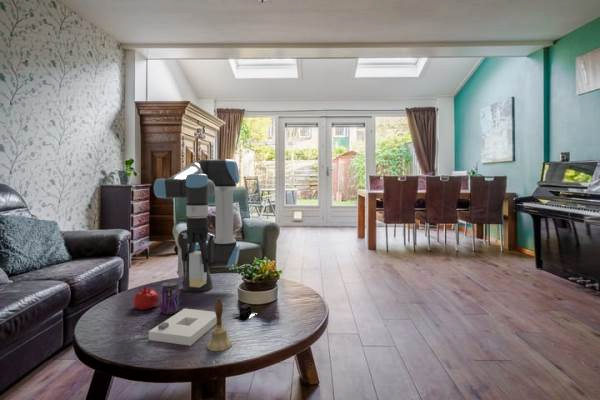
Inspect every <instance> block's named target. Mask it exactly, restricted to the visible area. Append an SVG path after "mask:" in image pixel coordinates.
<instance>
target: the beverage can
mask: <svg viewBox="0 0 600 400" xmlns="http://www.w3.org/2000/svg"><path fill="white" fill-rule="evenodd" d="M179 311H180V287H179V285H178V282H177V281H172V280H171V281H165V282H162V283H161V287H160V313H163V314H165V315H172V314H176V313H178V312H179Z"/></svg>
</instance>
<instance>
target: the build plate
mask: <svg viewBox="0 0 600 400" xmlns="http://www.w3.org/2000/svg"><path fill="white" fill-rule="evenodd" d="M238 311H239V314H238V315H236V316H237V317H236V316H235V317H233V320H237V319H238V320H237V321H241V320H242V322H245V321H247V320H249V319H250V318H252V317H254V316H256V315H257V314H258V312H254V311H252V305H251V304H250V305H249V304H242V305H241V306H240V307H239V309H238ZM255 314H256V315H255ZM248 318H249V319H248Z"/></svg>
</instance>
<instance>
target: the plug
mask: <svg viewBox="0 0 600 400" xmlns="http://www.w3.org/2000/svg"><path fill="white" fill-rule="evenodd" d="M202 263H203V260H202V255H201V251H194V252H192V253H189V281H190V287H201V286H203V285H204V284H206V281H204V282H201V264H202Z"/></svg>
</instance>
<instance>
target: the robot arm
mask: <svg viewBox="0 0 600 400" xmlns="http://www.w3.org/2000/svg"><path fill="white" fill-rule="evenodd" d="M237 163H238V162H237V161H235V159H229V158H228V159H227V158H223V159H222V158H219V159H218V158H216V159H215V158H213V159H212V158H203V159H199V160H196V161H193V162H190V163H188V164H187V165H185V166H184V167H183V169H182V170H180V171H179V172H177V173H176V174H174V175H172V176H170V177H169V178H157V179H155V181H154V184H153V194H154V195H155V197H156V198H157V199H185V201H186V203H185V204H186V206H185V207H186V214H185V215H186V231H185V232H182V233H179V235H178V236H179V239H180V245H181V246H180V248H181V250H180V251H181V261H184V268H185V269H184V271H185V272H184V276H183V278H182V282H181V290H182V291H184V292H187V293H199V292H200V293H201V292H205V291H208V290H211V289H212V288H213V287H214V284H213V283H214V282H213V278H212V276H211V273H210V268H226V269H228V268H233V267H232V264H234V265H235V267H236V266H237V264H238V261H239V255H240V250H241V249H240V244H239V243H237V239H236V238H235V237H234V190H235V188H237V184H239V183H240V173H239V172H240V171H239V166H238V164H237ZM213 195H214V196H215V203H214V204H215V234H212V233H210V230H209V218H208V216H209V198H211V197H212V196H213ZM188 239H189V240H188ZM194 251H201V255H202V260H203V263H202V264H201V282H204V281H206V284H204V285H203V286H201V287H190V281H189V253H192V252H194Z"/></svg>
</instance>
